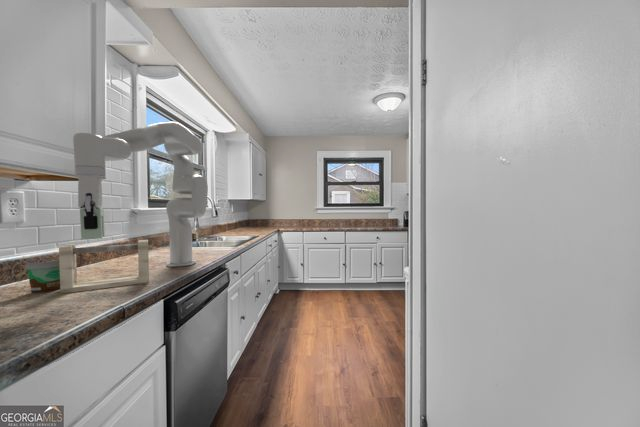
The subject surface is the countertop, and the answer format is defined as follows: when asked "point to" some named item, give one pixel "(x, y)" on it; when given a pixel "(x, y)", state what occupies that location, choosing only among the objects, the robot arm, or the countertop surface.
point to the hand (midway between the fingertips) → (93, 227)
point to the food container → (44, 276)
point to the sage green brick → (93, 232)
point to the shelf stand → (70, 280)
